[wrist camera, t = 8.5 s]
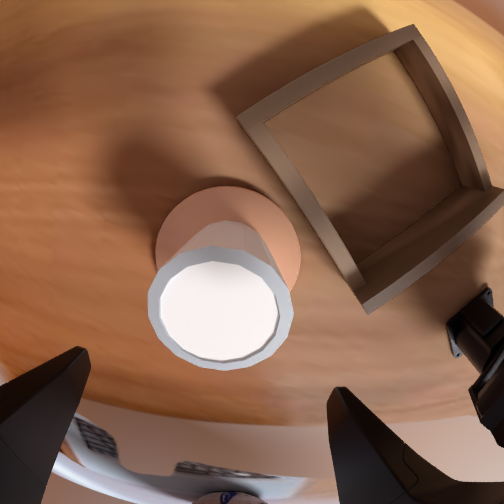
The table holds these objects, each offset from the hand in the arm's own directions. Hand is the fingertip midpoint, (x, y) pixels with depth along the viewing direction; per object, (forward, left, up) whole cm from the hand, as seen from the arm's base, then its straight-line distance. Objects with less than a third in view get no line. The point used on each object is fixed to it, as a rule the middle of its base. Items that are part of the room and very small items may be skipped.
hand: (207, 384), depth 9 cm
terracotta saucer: (0, 0, -12) cm, 12 cm away
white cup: (0, 0, -11) cm, 11 cm away
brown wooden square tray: (0, -13, -12) cm, 18 cm away
